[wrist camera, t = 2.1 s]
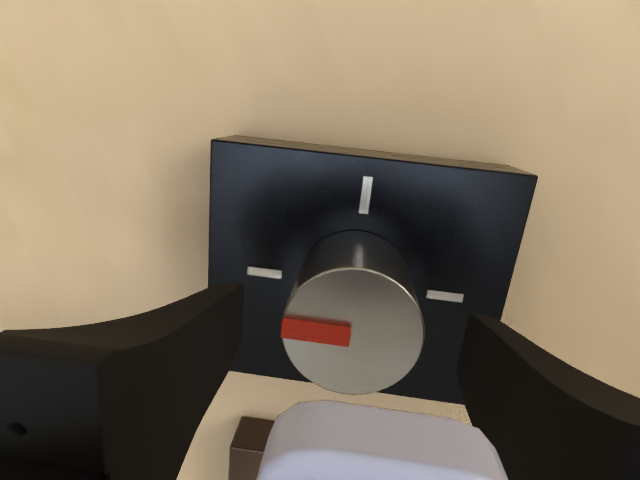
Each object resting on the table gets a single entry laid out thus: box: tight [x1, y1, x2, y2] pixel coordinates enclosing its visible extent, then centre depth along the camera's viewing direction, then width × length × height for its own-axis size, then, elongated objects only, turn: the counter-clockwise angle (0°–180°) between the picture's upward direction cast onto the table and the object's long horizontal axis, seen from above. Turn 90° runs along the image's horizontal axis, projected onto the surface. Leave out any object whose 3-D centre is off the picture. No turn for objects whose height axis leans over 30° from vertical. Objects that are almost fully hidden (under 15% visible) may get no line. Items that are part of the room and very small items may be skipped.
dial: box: [280, 231, 425, 395], centre depth 14 cm, size 4×4×4 cm
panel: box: [208, 135, 538, 405], centre depth 18 cm, size 12×10×3 cm
